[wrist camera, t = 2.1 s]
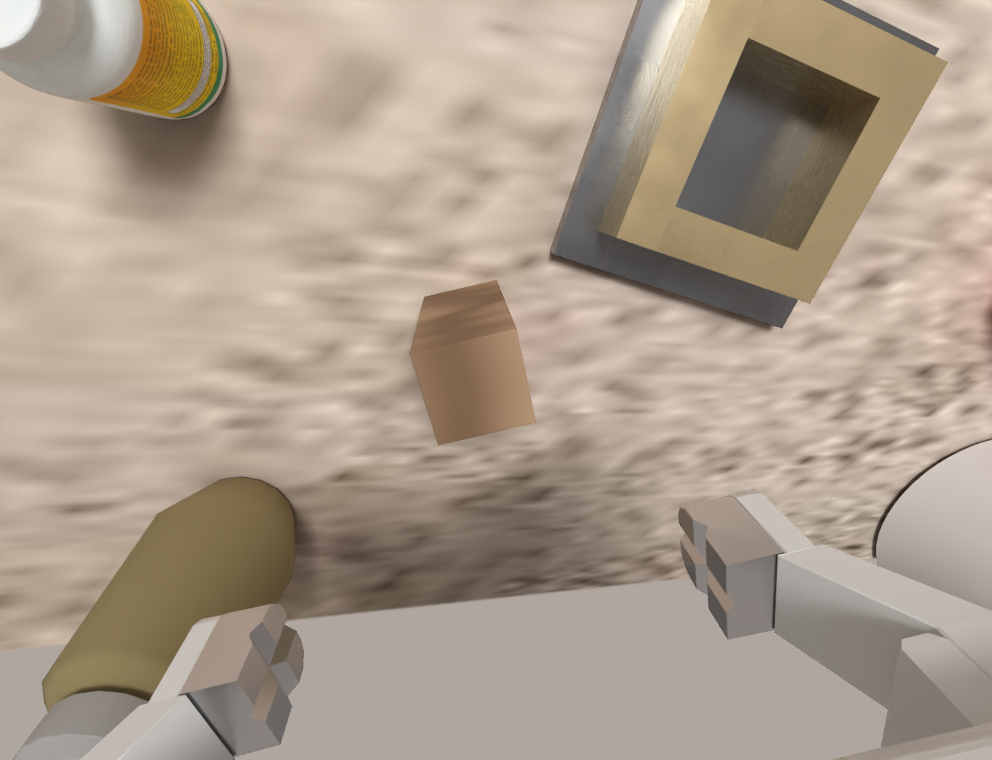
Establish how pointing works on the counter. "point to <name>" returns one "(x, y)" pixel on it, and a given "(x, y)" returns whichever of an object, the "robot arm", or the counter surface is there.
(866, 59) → the collar
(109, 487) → the counter surface
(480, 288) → the peg
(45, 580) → the counter surface
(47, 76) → the supplement bottle
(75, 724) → the squeeze bottle
